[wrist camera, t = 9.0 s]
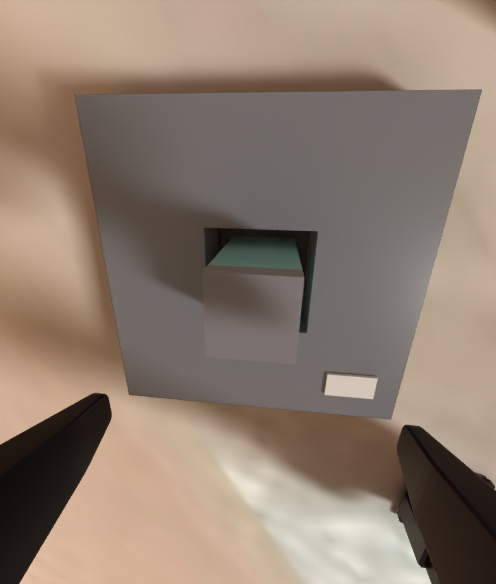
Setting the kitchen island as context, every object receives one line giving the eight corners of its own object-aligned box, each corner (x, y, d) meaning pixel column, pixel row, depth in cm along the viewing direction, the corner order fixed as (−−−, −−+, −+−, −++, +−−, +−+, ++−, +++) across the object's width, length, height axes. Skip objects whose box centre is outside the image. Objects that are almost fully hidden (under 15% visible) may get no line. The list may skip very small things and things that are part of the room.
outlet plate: (437, 110, 15) (485, 88, 11) (373, 383, 21) (392, 421, 18) (115, 112, 16) (71, 93, 13) (150, 364, 23) (127, 396, 19)
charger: (294, 238, 18) (304, 277, 10) (289, 295, 19) (295, 364, 12) (233, 236, 18) (201, 272, 11) (233, 291, 20) (205, 357, 12)
